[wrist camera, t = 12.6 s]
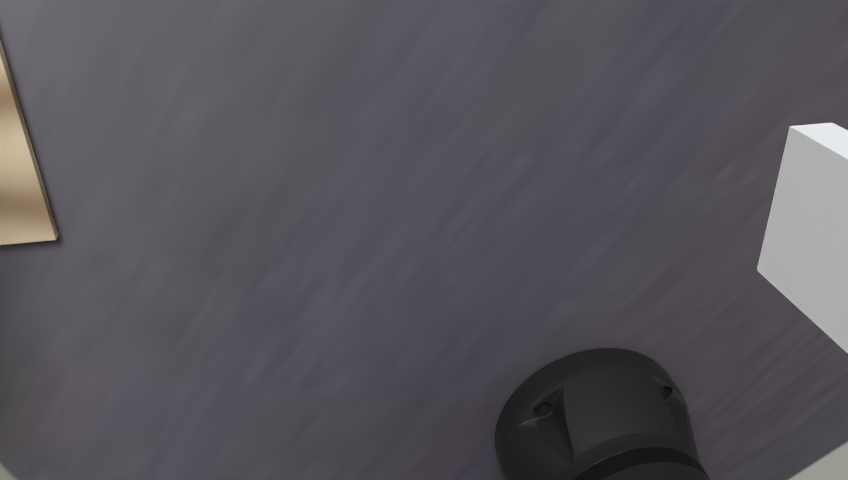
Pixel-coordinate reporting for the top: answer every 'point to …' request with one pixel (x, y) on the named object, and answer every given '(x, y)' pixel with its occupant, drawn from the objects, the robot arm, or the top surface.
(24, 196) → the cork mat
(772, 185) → the top surface
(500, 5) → the top surface
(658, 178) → the top surface
